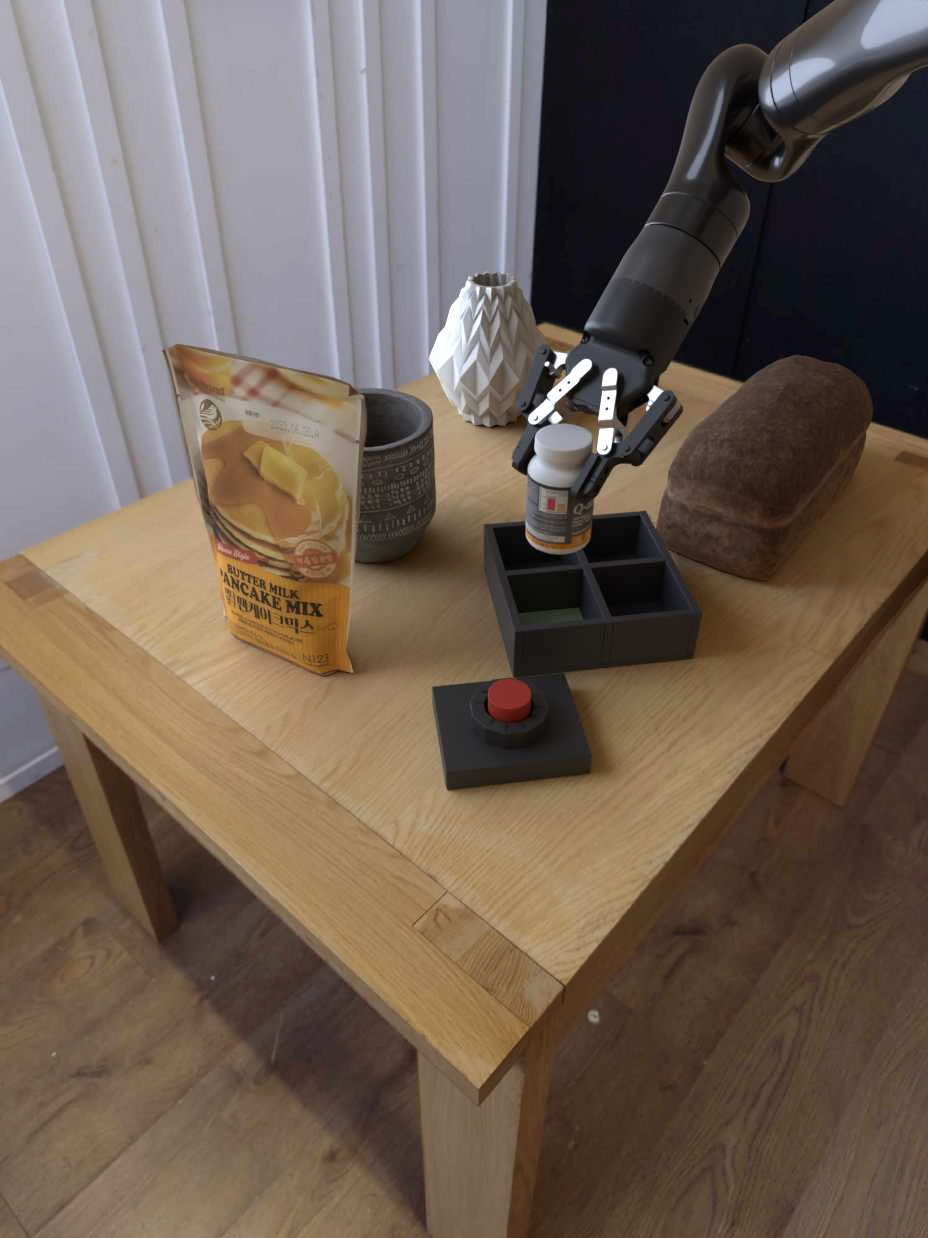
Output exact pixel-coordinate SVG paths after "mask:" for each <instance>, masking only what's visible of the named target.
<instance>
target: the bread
mask: <svg viewBox="0 0 928 1238" xmlns="http://www.w3.org/2000/svg"><path fill="white" fill-rule="evenodd" d="M873 415H874V406H873V400H872V395H871V393H870V391H869V389H868V387H867V385H866V383H865V382H864V380H862V379H861V377H859V376H858V375H857V374H856V373H854V372H853V371H852V370H851V369H850V368H847V367H846V366H843V365H841V364H839V363H835V362H829V361H823V360H820V359H817V358H815V357H812V356H808V355H800V354H795V355H791V356H787V357H783V358H780V359H777V360H775V361H773V362H772V363H770V364H768V365H766V366H765V367H763V368H761V369H760V370H758V371H756V372H755V373H754V374H753V375H751V376H750V377H749V378H747V380H745V381H744V382H743V383H742V384H741V386H740V387H739V388H738V389H737V390H736V391H735V392H734V393H733V394H732V395H730V396H729V397H728V398H726V399H725V400H724V401H723V402H722V403H721V404H720V405H719V406H718V407H716V409H715V410H713V411H712V412H711V413H710V414H709V415H707V417H705V418H704V419H702V420H701V421H700V422H698V424H697V425H696V426H695V427H694V428H693V429H692V430H690V431H689V433H688V434H687V436H686V437H685V439H684V440H683V442H682V444H681V445H680V447H679V449H678V450H677V452H676V454H675V456H674V458H673V459H672V462H671V464H670V466H669V469H668V470H667V478H666V479H667V480H666V485H665V489H664V491H663V494H662V496H661V500H660V501H661V502H660V505H659V509H658V514H657V519H656V526H655V528H656V530H657V532H658V534H659V536H660V537H661V539H662V541H663V543H664V545H665V546H666V548H667V549H669V550H671V551H673V552H675V553H678V554H680V555H682V556H685V557H687V558H690V559H691V560H694V561H697V562H700V563H702V564H705V565H707V566H710V567H712V568H715V569H717V570H719V571H723V572H726V573H728V574H731V575H735V576H738V577H741V578H744V579H745V578H746V579H751V580H758V581H759V580H761V581H768V580H769V579H770V578H771V576H772V575H773V574H774V573H775V572H777V570H778V569H779V568H780V566H782V565H783V564H784V563H785V561H786V560H787V559H788V558H789V557H790V556H791V554H792V553H793V552H794V551H795V549H796V548H797V547H798V546H799V544H800V543H801V542H802V541H803V540H804V539H805V538H806V536H807V535H808V534H809V533H810V532H811V531H812V529H813V528H814V526H815V525H816V524H817V523H818V521H819V520H821V518H822V517H823V516H824V514H825V513H826V512H827V510H828V509H829V508H830V506H832V505H833V503H834V502H835V500H836V499H837V498H838V496H839V494H840V493H841V491H842V490H843V488H844V487H845V486H847V484H848V483H849V481H850V480H851V479H852V477H853V475H854V473H855V472H856V469H857V468H858V466H859V463H860V461H861V457H862V455H863V452H864V449H865V447H866V442H867V441H866V440H867V431H868V429H869V428H870V426H871V424H872V420H873Z"/></svg>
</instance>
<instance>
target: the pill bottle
mask: <svg viewBox="0 0 928 1238" xmlns="http://www.w3.org/2000/svg"><path fill="white" fill-rule="evenodd" d="M593 444H594V437H593V434H592V432H590V431H589V430H588V429H586V428H585V427H582V426H579V425H576V424H571V423H563V424H553V425H549V426H546V427H543V428H541V429H540V430H539V431H538V432H537V433H536V435H535V445H534V449H535V452H536V455H535V456H534V457H533V458H532V459H531V460H530V462H529V465H528V469H527V476H526V505H525V506H526V507H525V521H526V537H527V540H528V541H529V543H530V544H531V545H532V546H533V547H535V548H536V549H538V550H540V551H542V552H546V553H549V554H569V553H573V552H576V551H579V550H581V549H582V548H584V547H585V546H586V545H587V543H588V542H589V540H590V536H591V528H592V519H593V515H594V508H595V498H594V499H593V500H592V499H589V501H588V502H587V503H586V504H583V503H581V502H579V501H577V500H576V499H574V498H573V497H572V496H571V495H570V490H571V488H572V486H573V484H574V483H575V481H576V479H577V477H578V476H579V474H580V472H581V470H582V469H583V467H584V465H585V463H586V462H587V460H588V458H589V456H590V454H591V453H593Z"/></svg>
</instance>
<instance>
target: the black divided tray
mask: <svg viewBox="0 0 928 1238" xmlns="http://www.w3.org/2000/svg"><path fill="white" fill-rule="evenodd" d="M652 521H653V520H652V519H651V517H650V516H649V514H648V512H647V510H639V511H638V510H637V511H626V512H615V513H602V514H593V519H592V528H591V536H590V540H589V542H588V543H587V545H586V546H585V547H584V548H582V549H581V550H579V551H576V552H573V553H569V554H549V553H546V552H542V551H540V550H538V549H536V548H535V547H533V546H532V545H531V544H530V543H529V541H528V540H527V537H526V520H520V521H508V522H497V523H485V524H483V571H484V574H485V579H486V582H487V586H488V590H489V593H490V597H491V600H492V604H493V609H494V611H495V615H496V619H497V623H498V627H499V630H500V634H501V638H502V642H503V645H504V649H505V652H506V656H507V660H508V663H509V666H510V670H511V674H512V678H520V677H530V676H539V675H549V674H558V673H567V672H576V671H587V670H595V669H604V668H615V667H625V666H636V665H643V664H644V665H645V664H653V663H660V662H661V663H663V662H672V661H673V662H674V661H681V660H683V661H684V660H691V659H694V656H695V652H696V651H695V650H696V646H697V641H698V637H699V632H700V627H701V622H702V618H703V611H702V609H701V608H700V606H699V604H698V602H697V600H696V599H695V596H694V595H693V593H692V592H691V590H690V587H689V586H688V584H687V582H686V581H685V579H684V577H683V575H682V574H681V572H680V570H679V568H678V566H677V565H676V563H675V560H674V559H673V557H672V555H671V553H670V552H669V550H668V548H667V547H666V546H665V545H664V543H663V541H662V539H661V537H660V536H659V534H658V532H657V530H656V526H655V524H654V522H652Z"/></svg>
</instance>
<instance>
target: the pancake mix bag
mask: <svg viewBox="0 0 928 1238" xmlns="http://www.w3.org/2000/svg"><path fill="white" fill-rule="evenodd" d="M161 352H162V354H163V356H164V358H165V361H166V365H167V368H168V371H169V375H170V379H171V383H172V387H173V392H174V397H175V403H176V406H177V410H178V414H179V417H180V421H181V426H182V430H183V431H182V432H183V436H184V442H185V448H186V453H187V456H188V460H189V463H190V468H191V475H192V481H193V485H194V490H195V496H196V499H197V502H198V504H199V505H198V506H199V508H200V511H201V514H202V519H203V522H204V525H205V529H206V532H207V536H208V539H209V544H210V548H211V552H212V555H213V558H214V561H215V562H214V563H215V567H216V571H217V578H218V587H219V588H218V589H219V592H220V598H221V603H222V616H223V617H224V618H226V619H227V625H228V629H229V632H230V633H231V634H232V635H233V636H234V637H235V638H237V639H239V640H240V641H242V642H244V643H247V644H248V645H251V646H253V647H254V648H257V649H259V650H261V651H263V652H265V653H268V654H270V655H273V656H275V657H277V658H279V659H282V660H284V661H286V662H288V663H290V664H292V665H294V666H296V667H298V668H299V669H303V670H305V671H307V672H309V673H312V674H315V675H318V676H321V677H326V676H327V675H330V674H333V673H336V672H338V671H340V672H346V673H350V674H354V673H355V672H354V670H353V665H352V662H351V658H350V654H349V652H348V650H347V647H348V641H349V640H348V639H349V633H350V626H351V625H350V623H351V617H352V603H353V601H352V600H353V584H354V573H355V563H356V562H355V554H356V542H357V527H358V522H359V518H360V495H361V475H362V461H363V450H364V444H365V439H366V433H367V412H366V405H365V398H364V396H363V395H362V394H360V393H359V392H357V391H356V390H355V389H356V388H354V387H353V386H352V385H351V384H350V383H349V382H347V381H345V380H342V379H340V378H337V377H334V376H330V375H325V374H321V373H317V372H313V371H307V370H304V369H298V368H292V367H287V366H284V365H280V364H278V363H274V362H270V361H266V360H263V359H260V358H256V357H252V356H247V355H242V354H241V355H240V354H238V353H237V354H236V353H232V352H227V351H220V350H216V349H212V348H207V347H200V346H194V345H188V344H183V343H182V344H181V343H176V344H173V345H171V346H169V347H167V348H165V349H162V350H161Z"/></svg>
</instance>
